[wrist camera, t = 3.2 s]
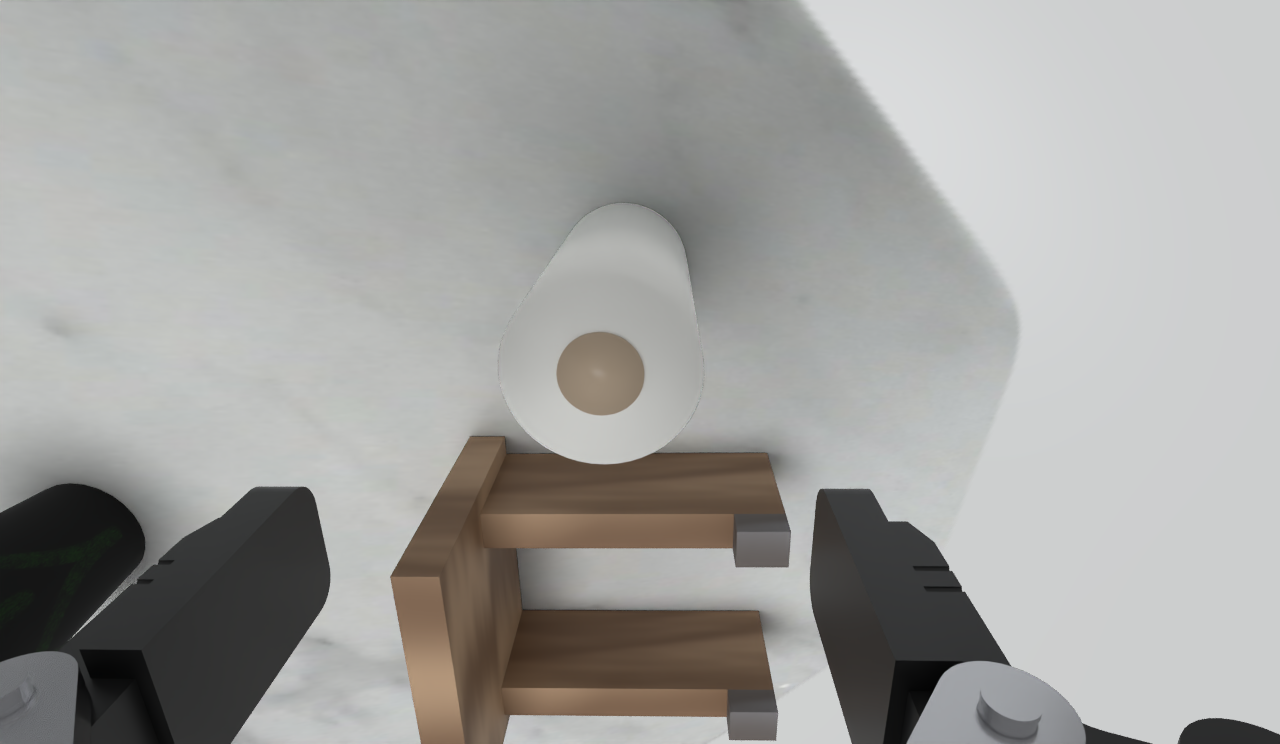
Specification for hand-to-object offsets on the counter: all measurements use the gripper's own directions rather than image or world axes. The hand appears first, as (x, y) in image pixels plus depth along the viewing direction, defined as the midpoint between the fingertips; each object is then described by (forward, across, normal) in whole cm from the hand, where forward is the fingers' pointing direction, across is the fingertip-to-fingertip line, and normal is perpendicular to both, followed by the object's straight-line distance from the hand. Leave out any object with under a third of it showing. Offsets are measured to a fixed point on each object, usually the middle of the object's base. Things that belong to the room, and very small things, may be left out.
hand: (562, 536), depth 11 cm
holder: (+19, +1, +14) cm, 23 cm away
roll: (+19, 0, 0) cm, 19 cm away
